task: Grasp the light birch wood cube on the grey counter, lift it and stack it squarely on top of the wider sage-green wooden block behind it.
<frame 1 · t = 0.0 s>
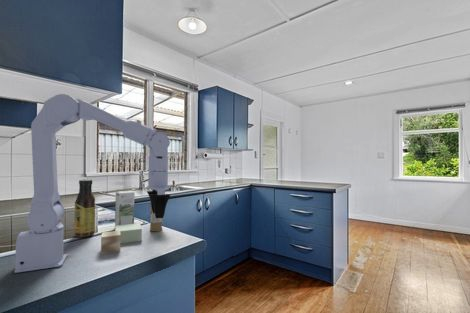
hand: (157, 215, 77), 10 cm above the worktop, tool pointing down, fingers open, 7 cm apart
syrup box: (124, 228, 98), on the worktop
sage block: (128, 238, 85), on the worktop
sprinkles bottle: (156, 230, 96), on the worktop
sauce bottle: (84, 236, 88), on the worktop
birch cube: (111, 250, 75), on the worktop
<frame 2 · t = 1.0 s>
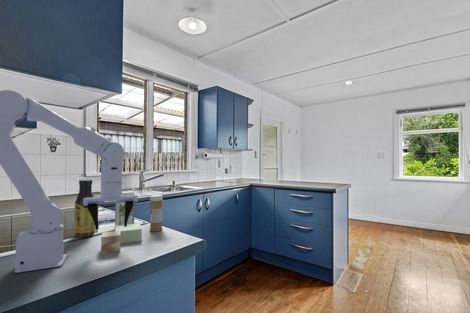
hand: (111, 227, 75), 7 cm above the worktop, tool pointing down, fingers open, 7 cm apart
nothing on the worktop moved.
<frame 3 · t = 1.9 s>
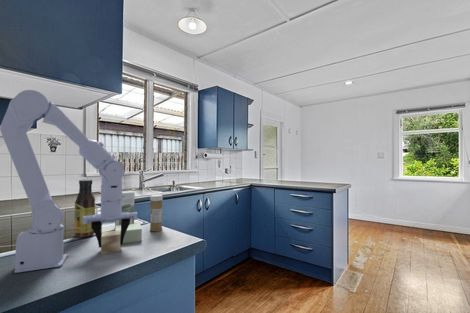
hand: (111, 245, 75), 1 cm above the worktop, tool pointing down, fingers closed on birch cube, 5 cm apart
birch cube: (111, 249, 75), on the worktop, touching gripper
everything else where it was.
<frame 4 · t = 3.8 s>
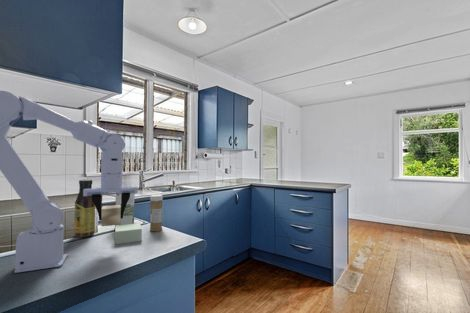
hand: (111, 218, 75), 9 cm above the worktop, tool pointing down, fingers closed on birch cube, 5 cm apart
birch cube: (111, 223, 75), point 8 cm above the worktop, touching gripper
everything else where it was.
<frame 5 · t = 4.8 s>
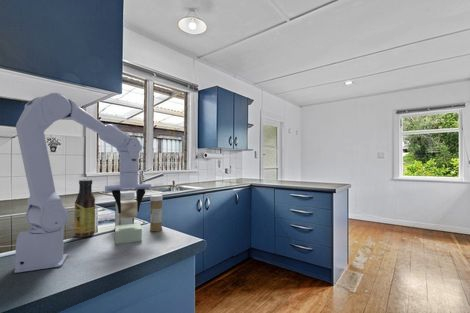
hand: (128, 211, 85), 9 cm above the worktop, tool pointing down, fingers closed on birch cube, 5 cm apart
birch cube: (128, 216, 85), point 8 cm above the worktop, touching gripper
everything else where it was.
when the fingers open (7 cm above the worktop, at t = 5.7 s): birch cube drops 1 cm, resting on sage block.
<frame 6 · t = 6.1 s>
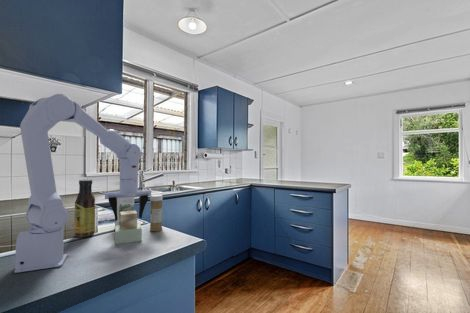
hand: (128, 218, 85), 7 cm above the worktop, tool pointing down, fingers open, 7 cm apart
birch cube: (128, 227, 85), point 4 cm above the worktop, touching sage block
everything else where it was.
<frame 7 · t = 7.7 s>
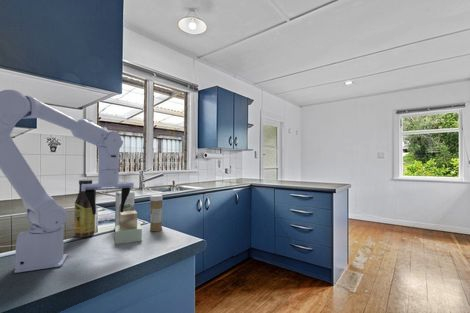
hand: (108, 212, 78), 10 cm above the worktop, tool pointing down, fingers open, 7 cm apart
nothing on the worktop moved.
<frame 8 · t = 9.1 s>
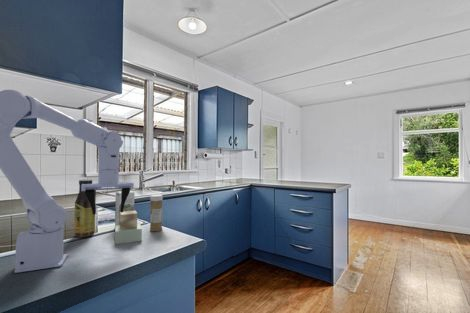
hand: (108, 212, 78), 10 cm above the worktop, tool pointing down, fingers open, 7 cm apart
nothing on the worktop moved.
at the end: birch cube 0.1 cm off-centre on the sage block, point 4.0 cm above the sage block's base; birch cube tilted 0°; the gripper is holding nothing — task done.
